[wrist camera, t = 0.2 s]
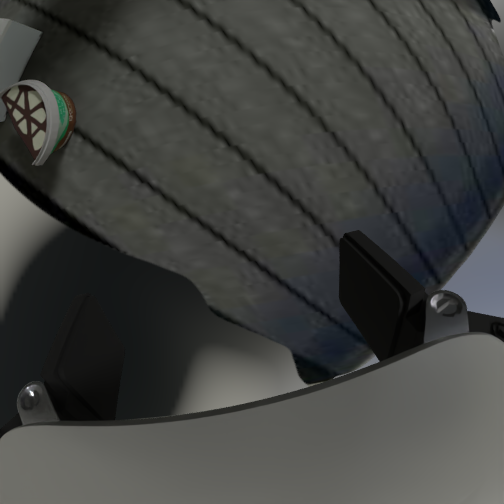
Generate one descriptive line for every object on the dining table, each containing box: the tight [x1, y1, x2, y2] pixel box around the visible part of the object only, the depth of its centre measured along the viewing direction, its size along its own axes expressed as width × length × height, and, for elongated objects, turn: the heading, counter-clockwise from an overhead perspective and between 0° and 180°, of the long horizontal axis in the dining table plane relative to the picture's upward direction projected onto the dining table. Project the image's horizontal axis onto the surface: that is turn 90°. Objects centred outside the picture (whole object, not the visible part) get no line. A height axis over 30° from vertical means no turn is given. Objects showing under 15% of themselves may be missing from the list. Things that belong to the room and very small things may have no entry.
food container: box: [0, 80, 76, 166], centre depth 25 cm, size 12×6×10 cm, turn 28°
